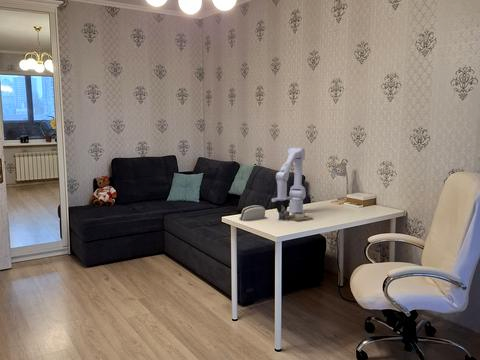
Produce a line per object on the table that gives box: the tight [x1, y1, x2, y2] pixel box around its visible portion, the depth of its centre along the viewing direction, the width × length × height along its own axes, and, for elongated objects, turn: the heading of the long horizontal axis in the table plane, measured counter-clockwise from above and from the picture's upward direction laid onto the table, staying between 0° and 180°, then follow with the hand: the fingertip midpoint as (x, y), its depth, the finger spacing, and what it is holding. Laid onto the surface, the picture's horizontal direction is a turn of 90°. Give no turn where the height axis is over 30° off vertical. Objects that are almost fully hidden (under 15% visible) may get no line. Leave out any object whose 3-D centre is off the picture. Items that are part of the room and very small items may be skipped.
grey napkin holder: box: [238, 204, 266, 222], centre depth 270 cm, size 17×5×10 cm, turn 119°
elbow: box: [278, 205, 291, 221], centre depth 267 cm, size 8×4×8 cm, turn 31°
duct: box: [285, 212, 314, 223], centre depth 270 cm, size 14×12×4 cm
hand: (282, 212), depth 268 cm, fingers closed on elbow, 4 cm apart
